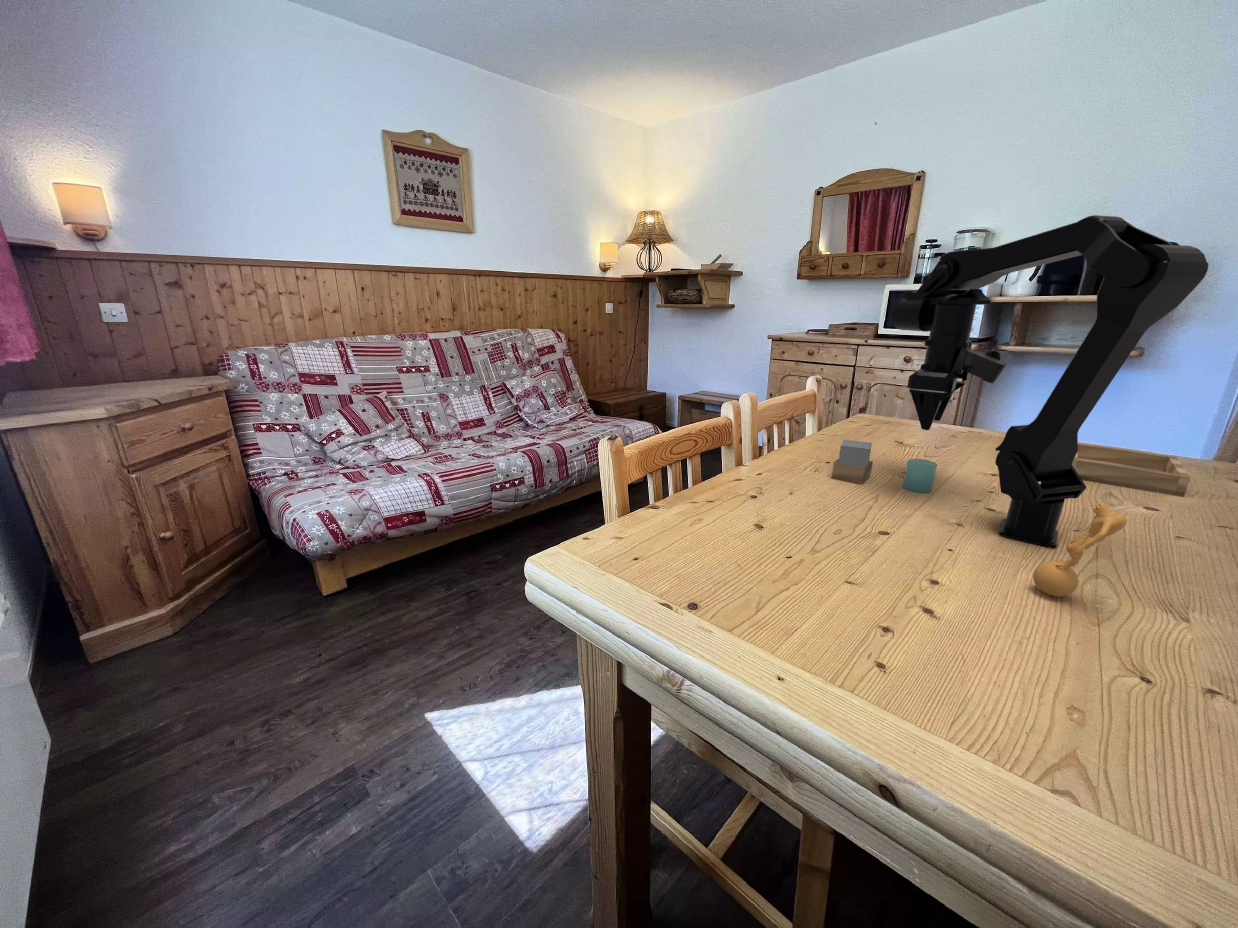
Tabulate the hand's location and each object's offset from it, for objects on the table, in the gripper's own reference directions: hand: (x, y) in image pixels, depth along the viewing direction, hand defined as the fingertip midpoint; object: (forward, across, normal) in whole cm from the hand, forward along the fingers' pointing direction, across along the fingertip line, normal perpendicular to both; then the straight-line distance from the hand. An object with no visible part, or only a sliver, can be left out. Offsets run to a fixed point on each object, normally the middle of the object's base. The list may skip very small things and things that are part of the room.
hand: (931, 425), depth 88 cm
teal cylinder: (+12, 0, 0) cm, 12 cm away
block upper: (+9, -2, +11) cm, 14 cm away
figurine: (+12, -29, -21) cm, 38 cm away
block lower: (+12, -2, +11) cm, 17 cm away
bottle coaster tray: (+12, +34, -28) cm, 46 cm away
